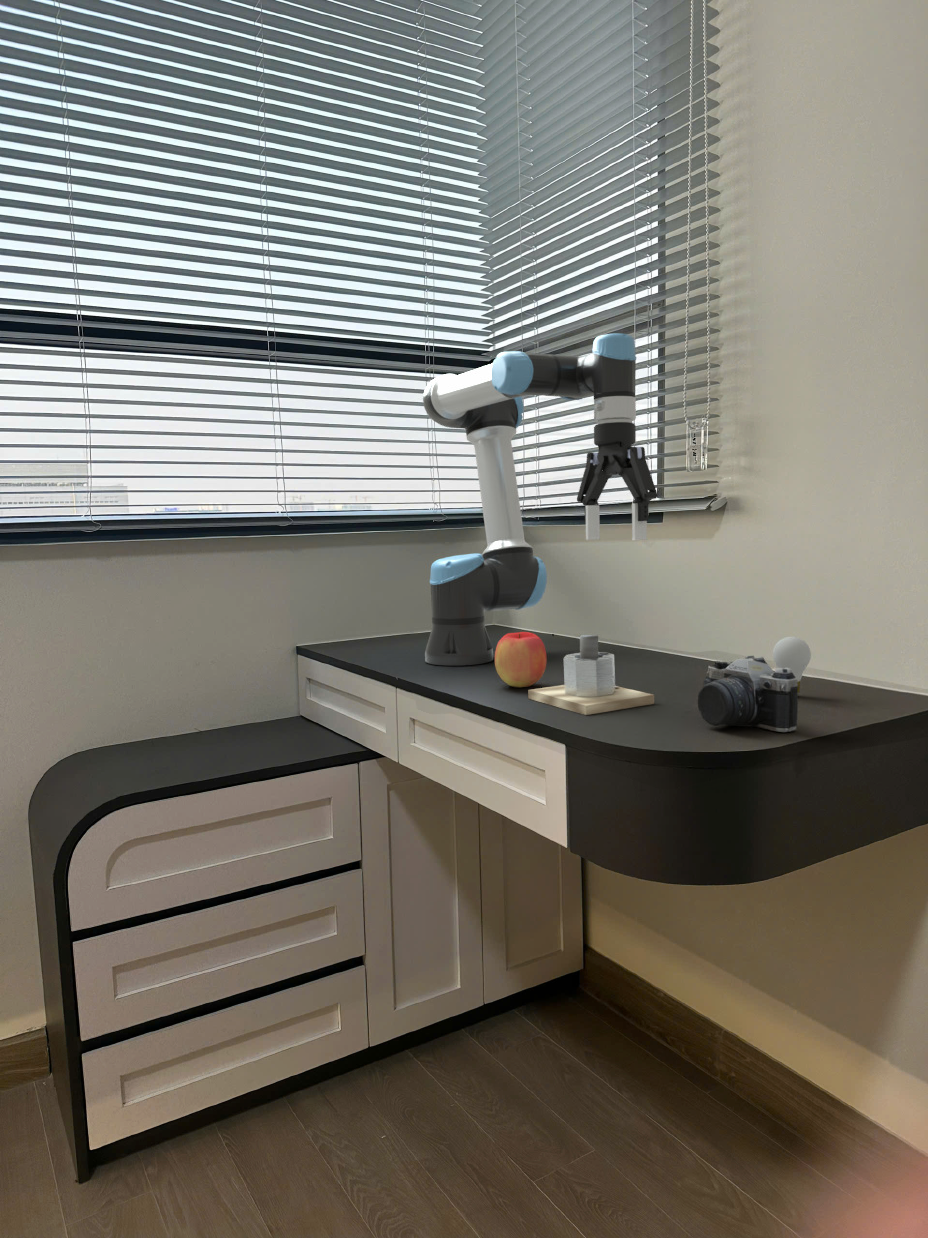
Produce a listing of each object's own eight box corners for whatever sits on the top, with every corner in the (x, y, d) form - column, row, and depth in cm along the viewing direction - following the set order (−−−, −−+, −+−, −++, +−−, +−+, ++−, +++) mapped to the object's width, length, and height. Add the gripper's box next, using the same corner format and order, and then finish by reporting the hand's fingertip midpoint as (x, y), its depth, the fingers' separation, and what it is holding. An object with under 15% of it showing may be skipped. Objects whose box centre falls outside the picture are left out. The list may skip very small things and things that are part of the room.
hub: (556, 691, 146) (555, 655, 145) (594, 684, 150) (593, 649, 149) (585, 699, 139) (584, 661, 138) (624, 691, 143) (623, 654, 142)
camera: (671, 720, 129) (671, 655, 128) (721, 712, 134) (722, 648, 133) (752, 742, 116) (753, 669, 114) (805, 732, 120) (806, 661, 119)
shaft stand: (528, 698, 148) (527, 635, 147) (593, 689, 155) (592, 628, 154) (585, 715, 134) (584, 645, 133) (654, 703, 141) (653, 637, 140)
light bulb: (764, 695, 145) (765, 636, 144) (791, 691, 148) (792, 633, 147) (790, 701, 140) (791, 640, 139) (818, 697, 142) (819, 637, 141)
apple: (492, 683, 163) (490, 630, 162) (541, 681, 164) (540, 629, 163) (498, 692, 154) (497, 637, 153) (551, 690, 155) (550, 635, 154)
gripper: (558, 429, 166) (559, 540, 168) (644, 413, 144) (644, 541, 147) (589, 430, 170) (590, 538, 172) (678, 415, 148) (677, 539, 150)
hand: (615, 540), depth 159 cm, fingers open, 13 cm apart
